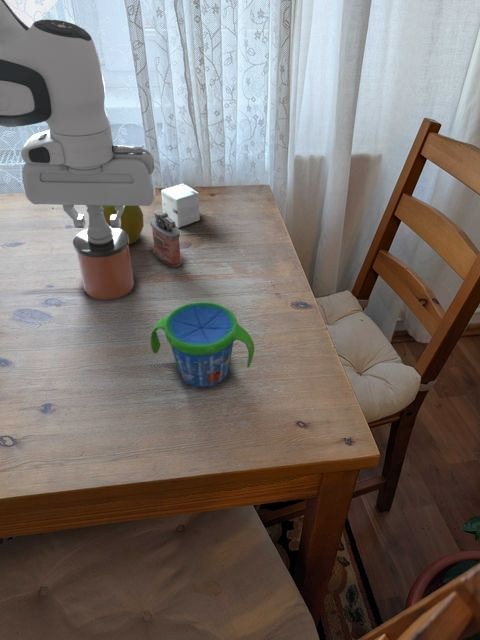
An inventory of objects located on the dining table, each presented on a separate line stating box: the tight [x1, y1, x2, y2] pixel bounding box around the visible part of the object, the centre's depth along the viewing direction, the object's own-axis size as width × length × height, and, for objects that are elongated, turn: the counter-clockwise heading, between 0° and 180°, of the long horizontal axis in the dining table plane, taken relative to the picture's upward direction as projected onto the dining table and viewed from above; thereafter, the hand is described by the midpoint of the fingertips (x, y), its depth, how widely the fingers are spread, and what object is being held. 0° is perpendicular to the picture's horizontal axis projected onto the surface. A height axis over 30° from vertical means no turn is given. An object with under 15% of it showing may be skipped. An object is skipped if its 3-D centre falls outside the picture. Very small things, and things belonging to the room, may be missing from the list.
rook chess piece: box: [85, 205, 113, 245], centre depth 88 cm, size 4×4×8 cm
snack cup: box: [150, 301, 255, 388], centre depth 79 cm, size 16×10×10 cm
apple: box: [102, 205, 145, 246], centre depth 107 cm, size 10×10×11 cm
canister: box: [72, 227, 135, 300], centre depth 94 cm, size 9×9×10 cm
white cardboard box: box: [160, 183, 201, 229], centre depth 115 cm, size 6×6×7 cm
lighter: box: [149, 210, 183, 267], centre depth 103 cm, size 8×3×10 cm, turn 40°
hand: (98, 226), depth 89 cm, fingers open, 5 cm apart
